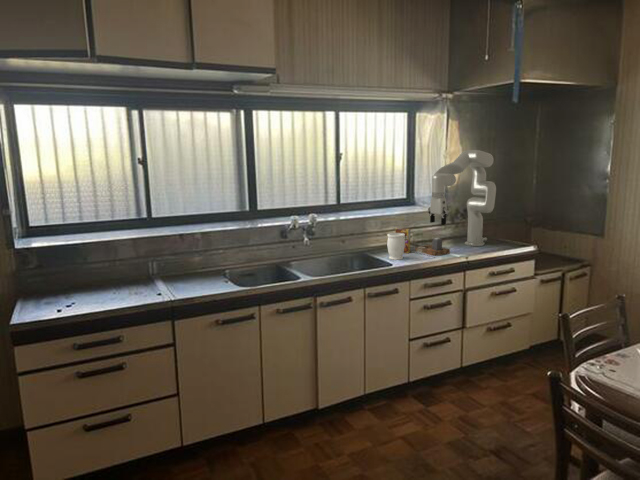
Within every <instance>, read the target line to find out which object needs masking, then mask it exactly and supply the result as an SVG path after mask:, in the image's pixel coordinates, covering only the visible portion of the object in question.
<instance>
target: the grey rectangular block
mask: <svg viewBox="0 0 640 480" xmlns="http://www.w3.org/2000/svg"><path fill="white" fill-rule="evenodd" d="M432 245H433V250H436V251H439V250H442V247H443V238H440V237H435V238H433V239H432Z"/></svg>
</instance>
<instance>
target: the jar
mask: <svg viewBox="0 0 640 480" xmlns="http://www.w3.org/2000/svg"><path fill="white" fill-rule="evenodd" d="M386 236H387V243H386V244H387V252H388V255H389V256H388V259H389V260H393V261H394V260H395V261H400V260H403V259H404V257H403V255H404V254H405V253H404V247H405V240H404V236H405V234H403V233H395V232H390V233H389V232H388V233H387V234H386Z"/></svg>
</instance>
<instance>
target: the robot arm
mask: <svg viewBox="0 0 640 480" xmlns="http://www.w3.org/2000/svg"><path fill="white" fill-rule="evenodd" d="M493 164H494V156H493V155H492V154H491V153H489V152H486V151H483V150H479V149H466V150H464V151H462V152H461V153H460V154H459V155H458V156H457V157H456V158H455V159H454V161H452V162H450V163H448V164H445V165H444V166H442V167H440V168H439V169H438V170H437V171H436V172H435V173H434V174H433V175H432V177H431V198H430V206H429V207H428V208H427V213H428V214H429V216H430V217H429V222H430V223H435V222H436V218H435V217H436V216H435V215H439V216H440V217H441V220H440V221H441V223H440V224H441V225H443V226H445V225H446V224H447V218H448V216H449V213H450V211H449V210H448V205H447V198H446V193H445V192H446V191H445V189H446V187H452V186H454V185H455V184H456V182H457V177H456V175H458V174H461V173H463V172H464V171H466V169H467V168H468V167H469V168H470V169H471V171H472V177H471V178H472V179H471V186H470V187H471V188H470V192H471V194H472V195H474V196H475V197H473V196H472V197H470V198H469V199H467V201H466V209H467V239H466V241H465V242H464V245H465V246H470V247H482V246H485V242H484V241H487V240H488V238H487V237H483V231H484V230H483V229H484V227H483V225H484V218H483V215H482V213H485V214H489V213H492V212H493V210H494V209H495V202H496V196H497V195H496V193H497V186H496V184H495V182H493V181H488V180H487V172H486V170H485V169H486V168H489V167H490V168H491V166H492V165H493ZM476 196H477V197H476ZM478 196H481V197H478ZM482 196H483V197H482Z"/></svg>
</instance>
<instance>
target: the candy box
mask: <svg viewBox="0 0 640 480" xmlns="http://www.w3.org/2000/svg"><path fill="white" fill-rule="evenodd" d="M394 233H403V234H405V236H404V240H405V247H404V253H403V254H410V253H411V228H402V227H396V228H395V230H394Z"/></svg>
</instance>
